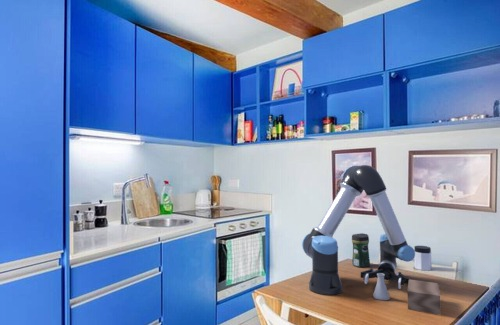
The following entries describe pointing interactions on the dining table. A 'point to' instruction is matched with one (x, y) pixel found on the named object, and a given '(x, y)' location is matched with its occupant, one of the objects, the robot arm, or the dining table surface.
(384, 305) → the dining table surface
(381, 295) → the flask
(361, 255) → the coffee jar
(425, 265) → the jar
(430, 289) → the walnut block
